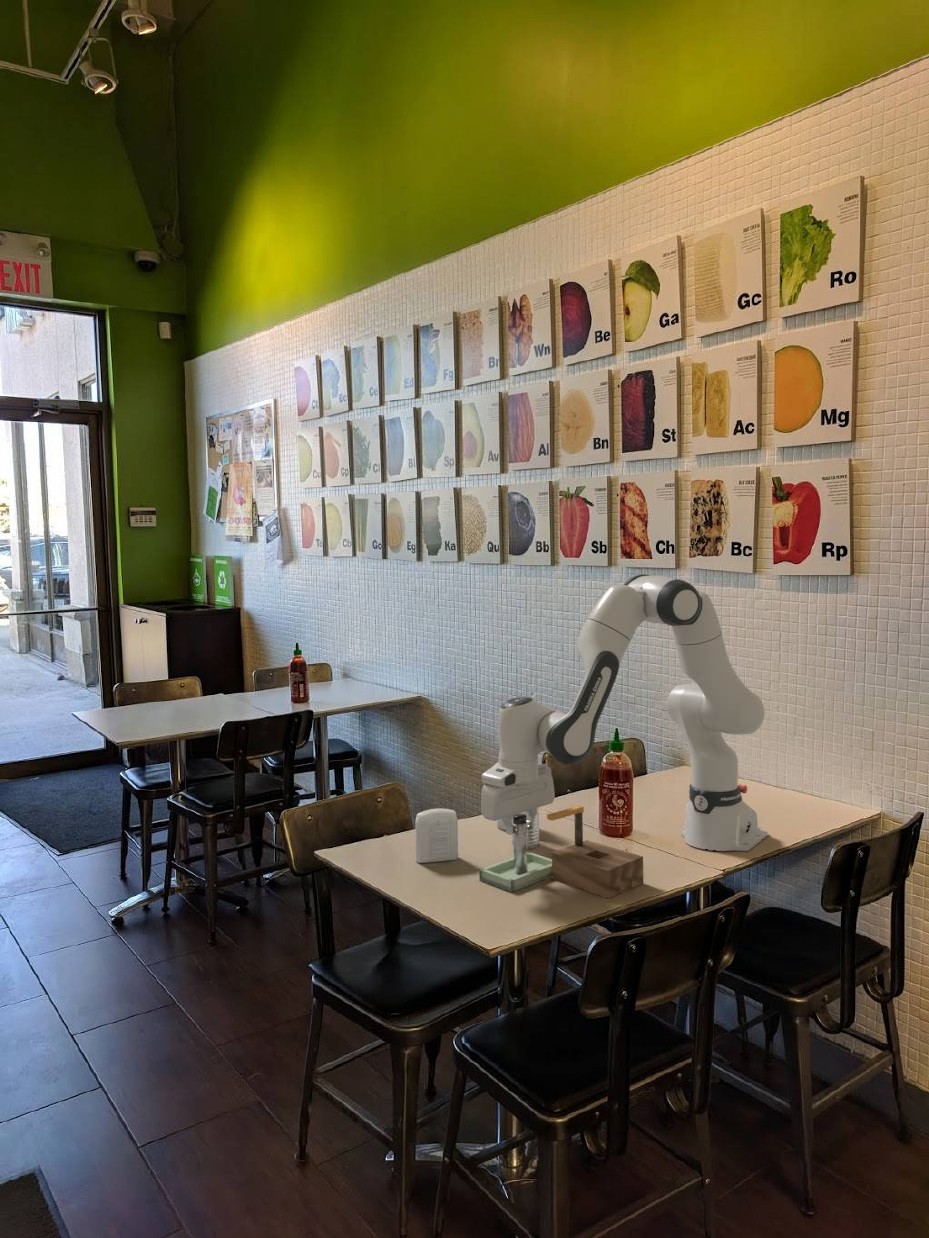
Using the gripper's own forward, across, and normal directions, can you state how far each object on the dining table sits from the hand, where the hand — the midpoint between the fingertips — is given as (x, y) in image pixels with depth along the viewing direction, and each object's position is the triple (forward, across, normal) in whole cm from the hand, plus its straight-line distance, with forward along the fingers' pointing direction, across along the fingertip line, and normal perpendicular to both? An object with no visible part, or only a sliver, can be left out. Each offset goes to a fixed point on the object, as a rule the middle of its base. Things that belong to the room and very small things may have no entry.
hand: (519, 830), depth 205 cm
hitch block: (+11, -10, +14) cm, 20 cm away
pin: (+10, 0, 0) cm, 10 cm away
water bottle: (+11, -16, -14) cm, 24 cm away
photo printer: (+11, +6, -22) cm, 25 cm away
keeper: (-3, -8, +7) cm, 11 cm away
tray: (+11, 0, 0) cm, 11 cm away
